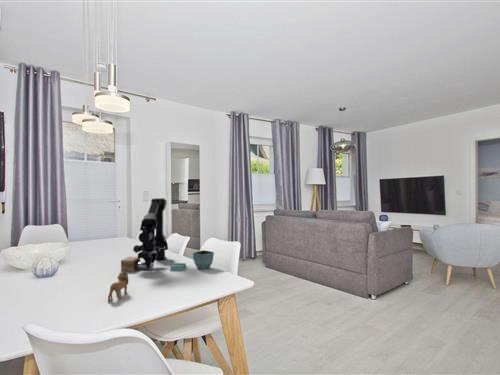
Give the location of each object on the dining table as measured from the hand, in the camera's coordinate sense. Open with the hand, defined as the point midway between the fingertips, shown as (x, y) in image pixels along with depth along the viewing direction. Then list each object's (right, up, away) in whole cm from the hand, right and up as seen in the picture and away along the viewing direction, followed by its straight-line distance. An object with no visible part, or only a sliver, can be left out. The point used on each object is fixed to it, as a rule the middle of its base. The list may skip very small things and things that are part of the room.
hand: (149, 267), depth 164 cm
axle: (-6, -1, 0) cm, 6 cm away
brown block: (-11, -1, +1) cm, 11 cm away
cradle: (+16, -1, -1) cm, 17 cm away
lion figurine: (+2, -1, -43) cm, 43 cm away
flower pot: (+31, -1, +1) cm, 31 cm away
